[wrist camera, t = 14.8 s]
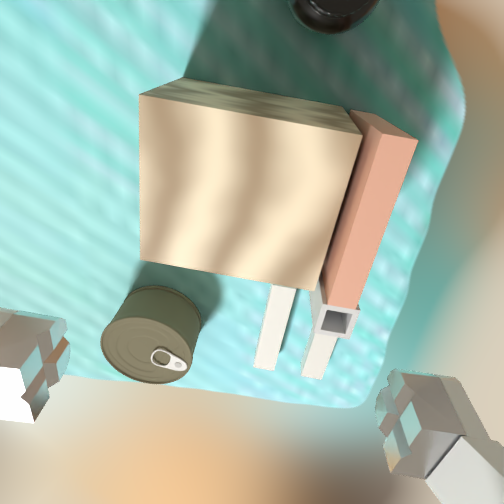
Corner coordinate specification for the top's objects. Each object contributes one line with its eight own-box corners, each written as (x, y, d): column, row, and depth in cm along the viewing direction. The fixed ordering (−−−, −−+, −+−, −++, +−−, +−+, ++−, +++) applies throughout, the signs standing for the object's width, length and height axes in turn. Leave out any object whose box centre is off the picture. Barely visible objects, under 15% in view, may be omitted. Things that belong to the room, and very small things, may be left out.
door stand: (254, 354, 54) (253, 367, 52) (273, 273, 47) (272, 284, 45) (320, 366, 54) (321, 379, 52) (349, 287, 47) (352, 299, 45)
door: (305, 260, 43) (313, 333, 32) (346, 108, 35) (376, 132, 24) (340, 266, 43) (360, 341, 32) (389, 116, 35) (439, 143, 24)
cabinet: (175, 230, 45) (140, 289, 35) (182, 77, 36) (138, 94, 25) (332, 259, 45) (344, 326, 35) (380, 113, 36) (415, 145, 25)
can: (133, 270, 49) (112, 303, 43) (215, 305, 50) (205, 340, 45) (113, 329, 55) (91, 364, 49) (186, 357, 56) (174, 395, 51)
